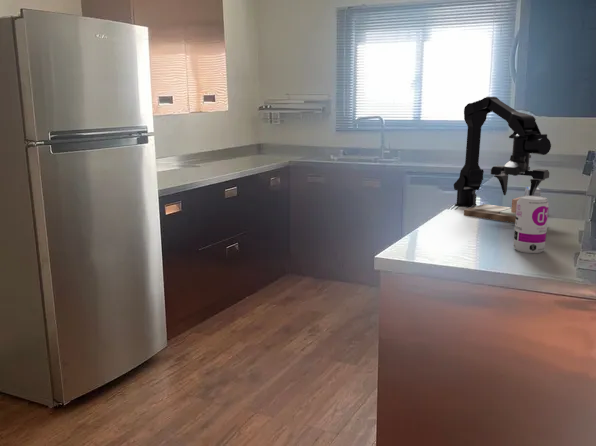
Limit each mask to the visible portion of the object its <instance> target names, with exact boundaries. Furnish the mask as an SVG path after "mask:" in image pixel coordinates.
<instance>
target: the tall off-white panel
mask: <svg viewBox="0 0 596 446" xmlns="http://www.w3.org/2000/svg"><path fill="white" fill-rule="evenodd" d="M519 198H520V196H519V197H515V198H512V199H511V209H508V210H504V211H501V212H500V214H507V215H514V216H516V209H517V201H518V200H519Z"/></svg>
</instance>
